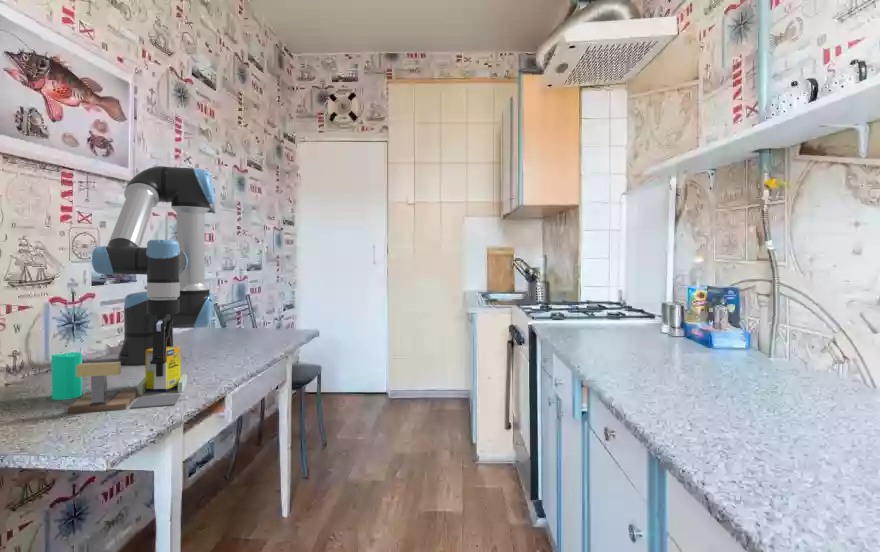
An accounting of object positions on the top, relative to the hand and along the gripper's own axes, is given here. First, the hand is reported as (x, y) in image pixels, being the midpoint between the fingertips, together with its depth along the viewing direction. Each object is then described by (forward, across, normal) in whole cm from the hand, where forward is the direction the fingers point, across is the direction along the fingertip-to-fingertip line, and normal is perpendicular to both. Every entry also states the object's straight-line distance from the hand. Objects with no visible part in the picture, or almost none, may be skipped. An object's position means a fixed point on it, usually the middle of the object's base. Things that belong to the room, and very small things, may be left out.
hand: (163, 384), depth 129 cm
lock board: (+1, +10, -10) cm, 15 cm away
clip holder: (+1, 0, 0) cm, 1 cm away
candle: (+2, +1, -21) cm, 21 cm away
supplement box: (+2, 0, 0) cm, 2 cm away
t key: (-1, +15, -10) cm, 18 cm away
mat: (+1, +12, 0) cm, 12 cm away
